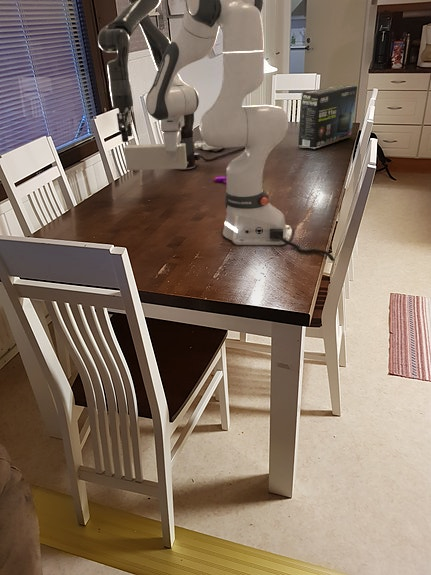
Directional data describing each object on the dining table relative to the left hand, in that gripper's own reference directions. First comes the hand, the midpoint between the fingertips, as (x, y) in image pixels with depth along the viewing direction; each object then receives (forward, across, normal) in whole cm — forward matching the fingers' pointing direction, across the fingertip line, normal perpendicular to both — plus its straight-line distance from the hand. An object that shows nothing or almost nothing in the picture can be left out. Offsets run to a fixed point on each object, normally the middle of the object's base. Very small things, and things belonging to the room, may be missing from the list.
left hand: (127, 139), depth 172 cm
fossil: (+23, -71, +29) cm, 80 cm away
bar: (+11, 0, +10) cm, 15 cm away
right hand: (+8, +1, +17) cm, 19 cm away
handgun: (+23, -8, +38) cm, 45 cm away
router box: (+23, -74, +90) cm, 119 cm away
